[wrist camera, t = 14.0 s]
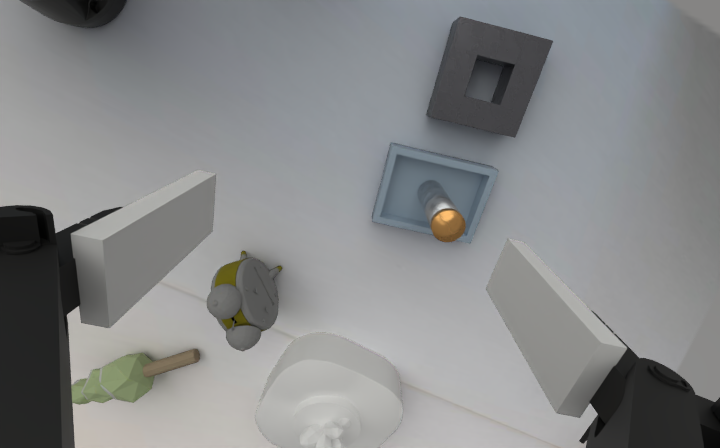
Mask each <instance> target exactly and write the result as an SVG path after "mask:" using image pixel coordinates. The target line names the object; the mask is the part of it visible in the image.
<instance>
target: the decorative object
mask: <svg viewBox="0 0 720 448" xmlns="http://www.w3.org/2000/svg"><path fill="white" fill-rule="evenodd" d="M199 359H200V354H199V351H198V350H197V349H193V350H190V351H186V352H183V353H180V354H177V355H173V356H170V357H167V358H164V359H161V360H157V361H154V362H153V361H151V360H150V359H149V358H148V357H147V356H145V355H144V354H143V353H139V354H134V355H126V356H124V357H121V358H118V359H117V360H115V361H113V362H111V363H109V364H107V365H106V366H104V367H102V368H100V369H94V370H91V372H90V374H89V377H88V379H80V380H77V381H76V382H75V383H74V384H73V385H71V389H72V403H76V404H86V403H89V402H91V401H95V402H99V403H104V402H106V401H109V400H111V399H113V398H114V399H117V400H122V401H126V402H132V403H134V402H135V401H136V400H138V399H139V398H140V397H142V396H143V395H144V394H145V393H147V392H148V391H149V390H151V389H152V385H153V381H154V376H155V375H158V374H161V373H164V372H167V371H171V370H174V369H177V368H180V367H183V366H186V365H190V364H193V363H196V362H198V361H199Z"/></svg>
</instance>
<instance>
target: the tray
mask: <svg viewBox="0 0 720 448" xmlns="http://www.w3.org/2000/svg"><path fill="white" fill-rule="evenodd" d="M498 172H499V171H498V170H497V169H495V168H494V167H492V166H488V165H484V164H480V163H475V162H471V161H467V160H463V159H459V158H454V157H450V156H446V155H442V154H437V153H433V152H429V151H425V150H421V149H416V148H412V147H408V146H404V145H400V144H395V143H391V144H390V148H389V152H388V156H387V159H386V163H385V167H384V171H383V175H382V179H381V183H380V187H379V190H378V194H377V198H376V202H375V206H374V210H373V214H372V222H376V223H381V224H385V225H390V226H394V227H398V228H403V229H407V230H412V231H416V232H421V233H425V234H430V235H433V233H432V230H431V228H430V225H429V223H428V220H427V218H426V215H425V213H424V210H423V208H422V205H421V203H420V200H419V198H418V189H419V187H420V185H421V184H422V183H424V182H426V181H429V180H434V181H437V182H438V183H440V184H441V186H442V187H443V189H444V190H445V192H446V193H447V194H448V196H449V197H450V199H451V200H452V202H453V203H454V205H455V206H456V208H457V209H458V210H459V212H460V213H461V215H462V216H463V218H464V220H465V223H466V228H465V231H464V233H463V235H462V236H461V237H460V238H458V239H457V241H461V242H465V243H471V241H472V238H473V236H474V233H475V231H476V228H477V226H478V223H479V220H480V218H481V215H482V213H483V210H484V208H485V205H486V202H487V200H488V197H489V195H490V192H491V190H492V187H493V185H494V182H495V179H496V177H497V174H498Z"/></svg>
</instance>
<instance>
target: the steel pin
mask: <svg viewBox="0 0 720 448" xmlns="http://www.w3.org/2000/svg"><path fill="white" fill-rule="evenodd" d="M418 198H419V200H420V203H421V205H422V208H423V210H424V213H425V215H426V218H427V220H428V223H429V225H430V228H431V230H432V233H433V235H434V236H435V237H436V238H437V239H438V240H440V241H443V242H452V241H455V240H457V239H458V238H460V237H461V236H462V235H463V233H464V231H465V228H466V223H465V220H464V218H463V216H462V215H461V213H460V212H459V210H458V209H457V208H456V206H455V205H454V203H453V202H452V200H451V199H450V197H449V196H448V194H447V193H446V192H445V190H444V189H443V187H442V186H441V184H440V183H438V182H437V181H434V180H429V181H426V182H424V183H422V184H421V185H420V187H419V189H418Z"/></svg>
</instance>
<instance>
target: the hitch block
mask: <svg viewBox="0 0 720 448" xmlns="http://www.w3.org/2000/svg"><path fill="white" fill-rule="evenodd" d="M552 43H553V41H552V40H548V39H544V38H541V37H537V36H533V35H529V34H525V33H521V32H517V31H514V30H510V29H506V28H502V27H498V26H494V25H491V24H487V23H483V22H479V21H475V20H471V19H468V18H464V17H459V18H458V19H456V20H455V21H454V22H453V24H452V27H451V30H450V34H449V37H448V41H447V44H446V48H445V51H444V55H443V58H442V62H441V65H440V69H439V72H438V76H437V79H436V83H435V86H434V89H433V93H432V96H431V100H430V103H429V107H428V110H427V114H426V115H428V116H429V117H432V118H437V119H441V120H445V121H449V122H453V123H457V124H461V125H465V126H469V127H474V128H478V129H482V130H486V131H490V132H494V133H498V134H502V135H507V136H511V137H515V136H516V134H517V131H518V129H519V126H520V124H521V121H522V119H523V116H524V114H525V111H526V109H527V106H528V103H529V101H530V98H531V96H532V93H533V91H534V88H535V86H536V83H537V81H538V78H539V76H540V73H541V71H542V68H543V65H544V63H545V60H546V58H547V55H548V53H549V50H550V48H551V45H552ZM476 59H477V60H481V61H485V62H489V63H493V64H497V65H501V66H504V67H503V70H502V73H501V76H500V78H499V81H498V84H497V87H496V90H495V93H494V95H493V98H492V101H491V103H490V102H486V101H482V100H478V99H474V98H469V97H465V96H464V95H465V92H466V89H467V86H468V83H469V80H470V76H471V73H472V70H473V67H474V64H475V61H476Z"/></svg>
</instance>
